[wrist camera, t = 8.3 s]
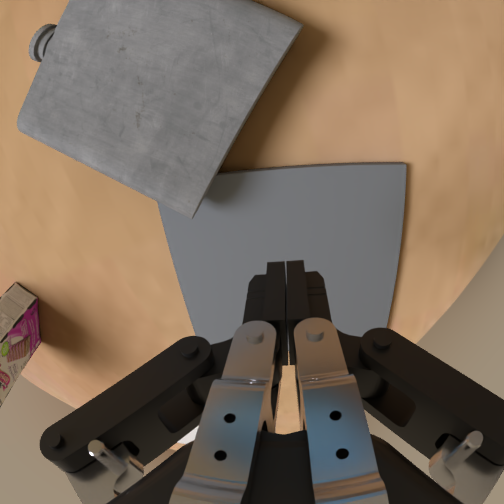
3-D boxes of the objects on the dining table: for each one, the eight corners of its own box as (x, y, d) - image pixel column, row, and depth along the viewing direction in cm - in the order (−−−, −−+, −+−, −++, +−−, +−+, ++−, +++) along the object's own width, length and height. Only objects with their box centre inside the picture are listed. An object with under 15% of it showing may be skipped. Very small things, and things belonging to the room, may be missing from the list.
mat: (156, 181, 23) (153, 184, 23) (402, 162, 21) (406, 164, 20) (203, 347, 32) (201, 352, 32) (381, 337, 30) (383, 342, 29)
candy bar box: (43, 343, 37) (-5, 419, 23) (20, 327, 36) (-30, 399, 22) (40, 296, 32) (-28, 385, 18) (14, 279, 31) (-55, 359, 17)
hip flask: (188, 225, 20) (-2, 127, 17) (199, 207, 24) (26, 121, 20) (306, 19, 14) (72, -42, 10) (299, 34, 17) (94, -29, 14)
